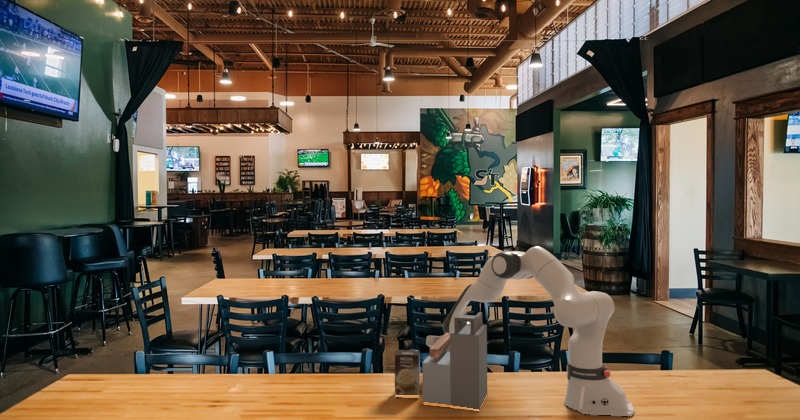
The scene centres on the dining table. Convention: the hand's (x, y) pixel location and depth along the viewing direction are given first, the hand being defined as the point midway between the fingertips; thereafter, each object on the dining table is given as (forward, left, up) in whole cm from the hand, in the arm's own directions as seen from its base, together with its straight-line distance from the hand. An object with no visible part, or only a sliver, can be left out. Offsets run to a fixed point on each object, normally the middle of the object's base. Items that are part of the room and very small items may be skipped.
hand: (447, 337), depth 200 cm
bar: (0, +8, -2) cm, 8 cm away
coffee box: (+12, +14, -19) cm, 27 cm away
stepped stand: (-6, +13, -19) cm, 24 cm away
